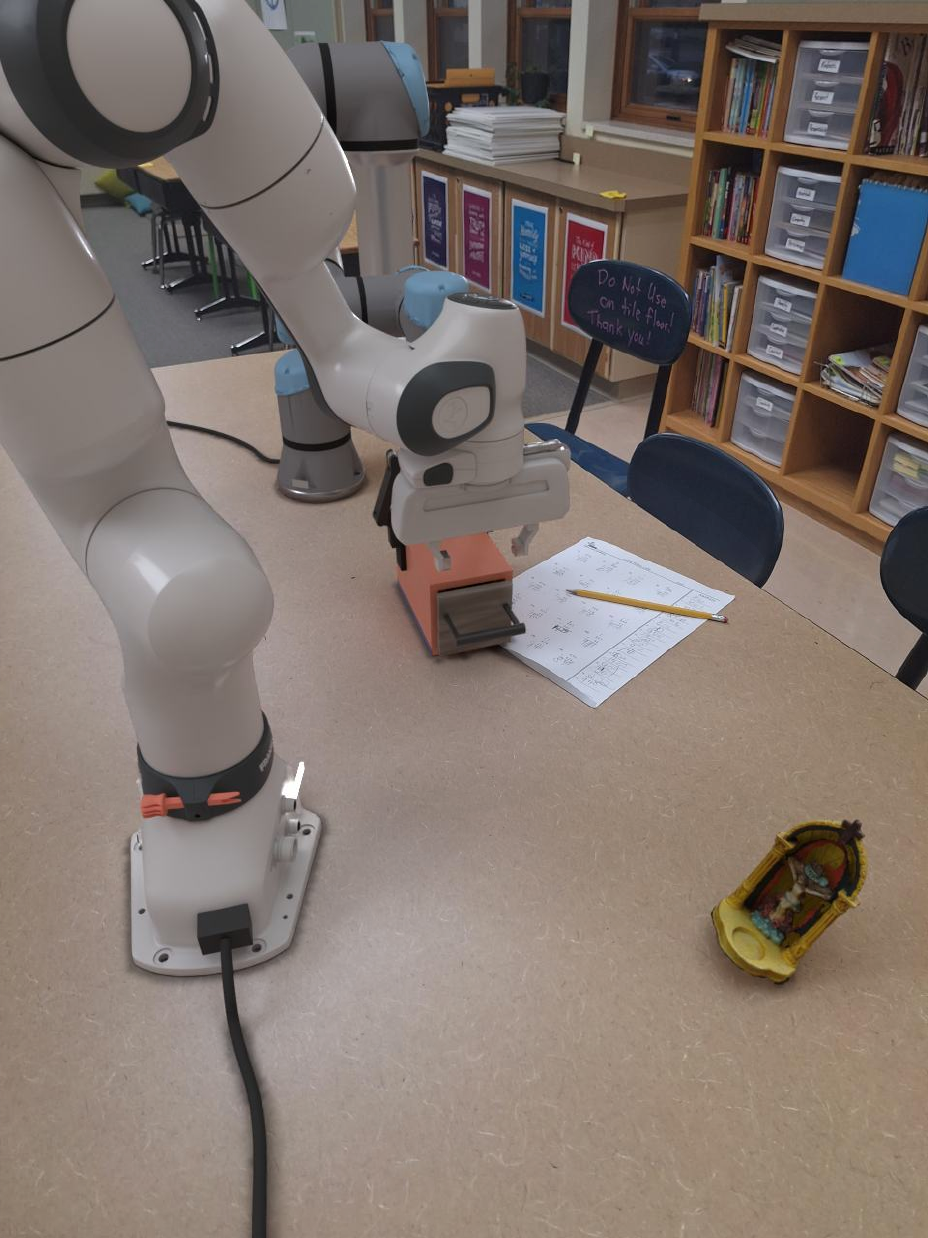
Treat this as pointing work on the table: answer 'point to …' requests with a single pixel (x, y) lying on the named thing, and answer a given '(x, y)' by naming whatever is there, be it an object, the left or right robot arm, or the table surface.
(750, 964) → the shrine
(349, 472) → the right robot arm
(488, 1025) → the table surface
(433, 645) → the cabinet
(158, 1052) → the table surface
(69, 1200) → the table surface
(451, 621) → the drawer
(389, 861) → the table surface
